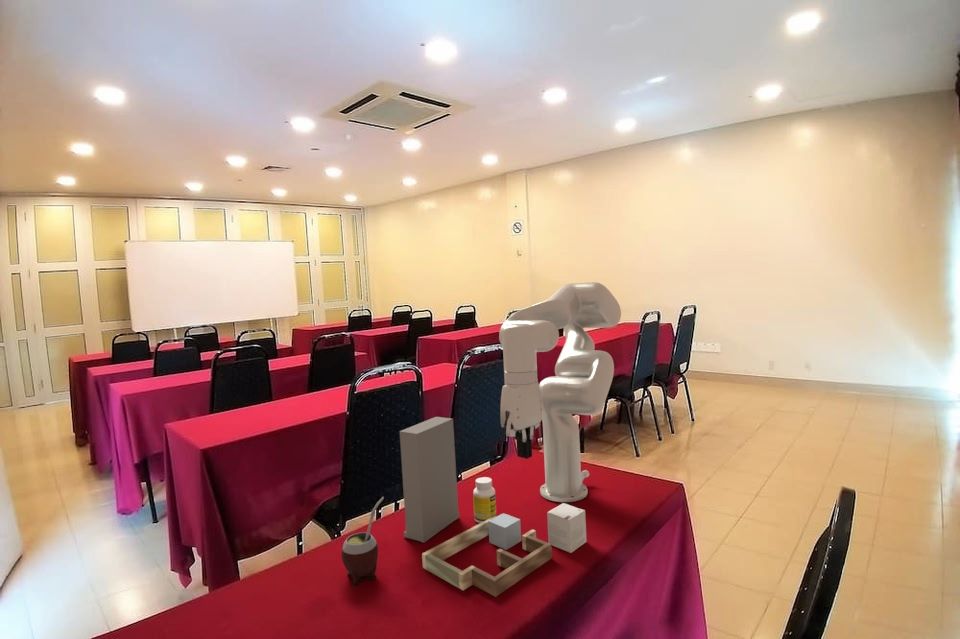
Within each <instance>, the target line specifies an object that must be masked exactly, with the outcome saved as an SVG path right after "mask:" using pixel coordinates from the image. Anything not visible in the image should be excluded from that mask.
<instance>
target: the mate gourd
mask: <svg viewBox="0 0 960 639" xmlns="http://www.w3.org/2000/svg"><path fill="white" fill-rule="evenodd" d="M384 499H385V496H382V497H381V498H380V499H379V500H378V501H377V502H376V504H375V505H374V507H373V508H372V510H371V512H370V516H369V522H368V526H367V530H366V532H357V533H354V534H351V535H349V536H348V537H347V538H346V539H345V540H344V542H343V546H342V550H341V560H342V564H343V566H344V568H345V570H346V571H347V572H348V573H346V575H347V578H352V580H353V582H352V587H357V586H358V585H359V584H360V583H361V581H362V580H372V581H375V580H376V579H377V578H378V577H377V575H376V571H377V566H378V565H377V562H378V555H379V545H378V543H377V540H376V539H375V537H374V536H373V535H372V534H371V533H370V532H371V529H372V524H373V519H374V517H375V514H376V510H377V508H378V507H379V505H380V504H381V503H382V502H383V500H384ZM358 583H359V584H358Z"/></svg>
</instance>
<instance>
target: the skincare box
mask: <svg viewBox="0 0 960 639" xmlns="http://www.w3.org/2000/svg"><path fill="white" fill-rule="evenodd" d="M546 513H547V514H546V517H547V535H548V536H547V537H548V540H547V541H548V542H547V543H550V544H551V547H552V546H553V547H555V548H557V549H559V550H562V551H566V552H568V553H570V554H571V553H573V552H575V551H576V550H577V549H578V548H580V547H582V546H583V545H584V544H586V543H587V522H586V521H587V520H586V510H585V509H582V508H578V507H576V506H573V505H570V504H568V503H566V502H561V504H559V505H558V506H556V507H554V508H552V509H550V510H549V511H547V512H546Z"/></svg>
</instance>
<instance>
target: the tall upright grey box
mask: <svg viewBox="0 0 960 639" xmlns="http://www.w3.org/2000/svg"><path fill="white" fill-rule="evenodd" d="M454 431H455V430H454V418H451V417H441V416H434V417H432V418H429V419H427V420H424V421H422V422H419V423H417V424H415V425H412V426H410V427H409V426H408V427H406V428H405V429H402V430H399V444H400V446H399V447H400V460H401V461H400V462H401V473H402V489H403V491H402V492H403V504H404V517H405V518H404V519H405V520H404V522H405V531H403V537H404V538H406V539H410V540H414V541H418V542H421V543H422V544H423V543H426V542H427V541H428V540H429V539H432V537H434V536H435V535H436V534H438V533H439V532H441V531H442V530H444V529H445V528H446V527H448V526H449V525H450V524H452V523H453V522H455V521H457V520H458V519H460V512H459V502H458V501H459V500H458V483H457V482H458V481H457V467H456V466H457V465H456V449H455V432H454Z"/></svg>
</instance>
